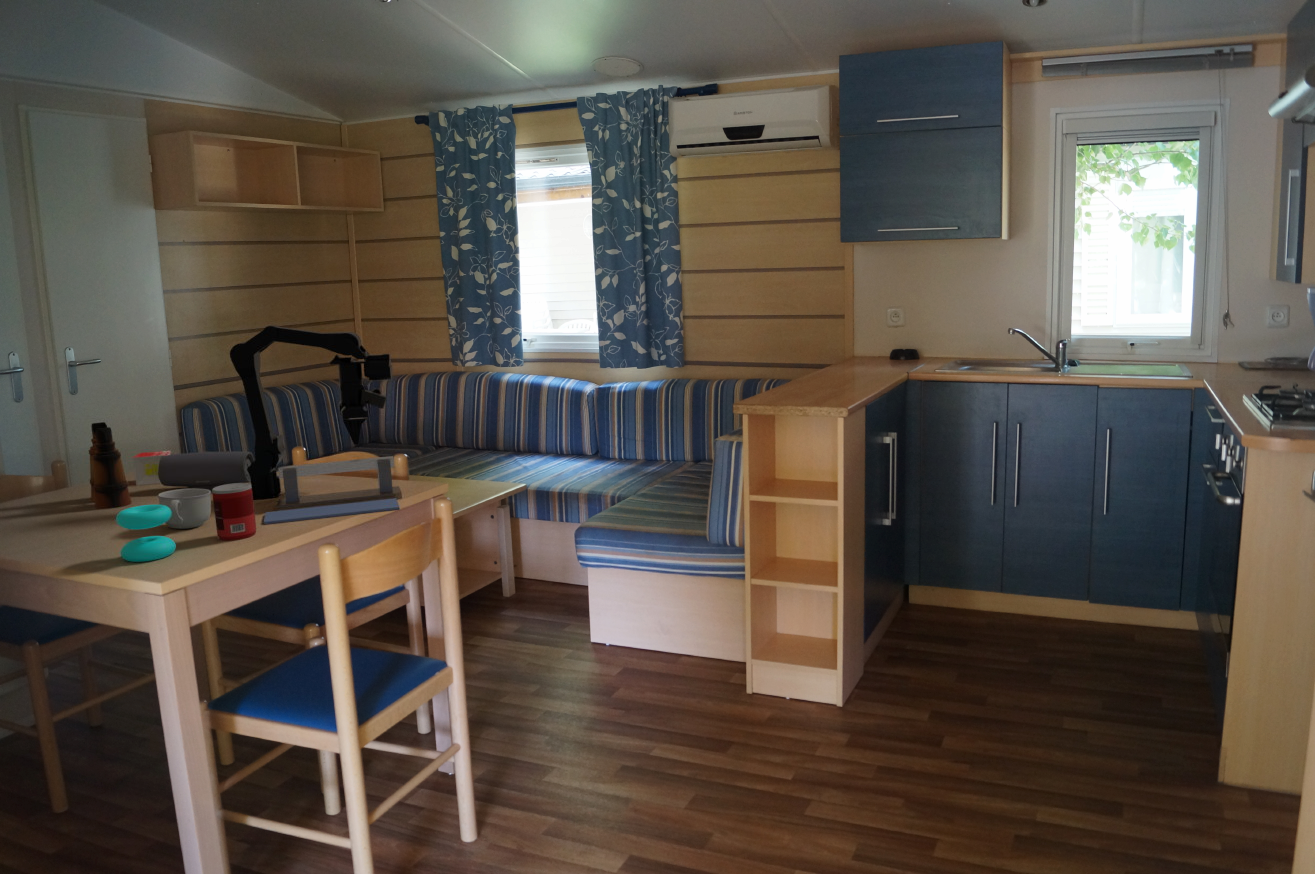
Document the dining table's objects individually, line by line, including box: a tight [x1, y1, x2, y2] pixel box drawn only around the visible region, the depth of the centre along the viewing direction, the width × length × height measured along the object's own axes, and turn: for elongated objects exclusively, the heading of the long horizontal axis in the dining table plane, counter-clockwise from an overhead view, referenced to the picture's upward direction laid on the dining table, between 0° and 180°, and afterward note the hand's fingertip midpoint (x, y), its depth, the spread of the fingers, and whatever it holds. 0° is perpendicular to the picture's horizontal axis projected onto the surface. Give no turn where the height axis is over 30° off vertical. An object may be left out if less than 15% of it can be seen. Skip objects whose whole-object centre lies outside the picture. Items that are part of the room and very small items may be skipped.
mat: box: [263, 498, 401, 525], centre depth 232 cm, size 30×10×1 cm, turn 109°
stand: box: [276, 460, 403, 511], centre depth 242 cm, size 29×8×10 cm, turn 109°
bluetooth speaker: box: [158, 450, 255, 490], centre depth 264 cm, size 23×9×10 cm, turn 92°
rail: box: [277, 455, 395, 479], centre depth 241 cm, size 27×2×2 cm, turn 109°
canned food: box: [211, 482, 257, 542], centre depth 212 cm, size 8×8×11 cm
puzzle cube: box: [132, 450, 172, 486], centre depth 277 cm, size 8×8×8 cm
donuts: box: [115, 503, 177, 563], centre depth 199 cm, size 10×10×10 cm
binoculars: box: [88, 421, 132, 510], centre depth 251 cm, size 18×8×20 cm, turn 35°
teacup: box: [157, 488, 212, 530], centre depth 222 cm, size 14×11×8 cm
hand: (355, 441), depth 254 cm, fingers open, 9 cm apart
